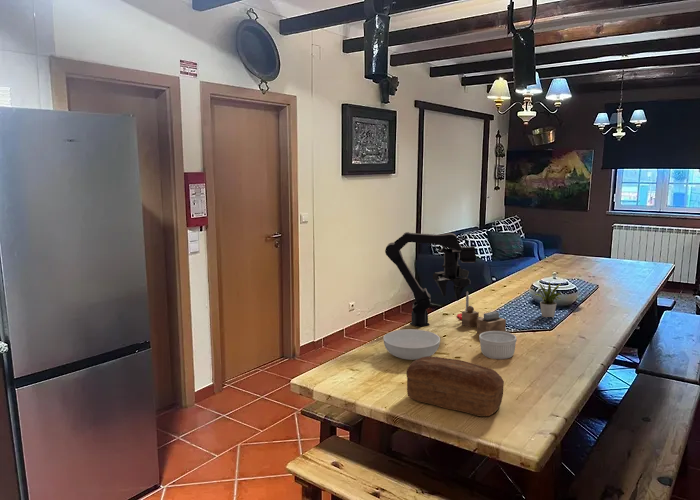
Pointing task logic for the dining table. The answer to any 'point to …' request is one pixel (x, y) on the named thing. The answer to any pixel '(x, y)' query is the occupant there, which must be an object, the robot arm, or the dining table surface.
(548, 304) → the house plant
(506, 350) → the ramekin
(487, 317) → the tall grey upright block
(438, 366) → the bread
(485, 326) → the wooden hollow frame
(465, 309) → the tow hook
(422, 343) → the serving bowl
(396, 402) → the dining table surface
